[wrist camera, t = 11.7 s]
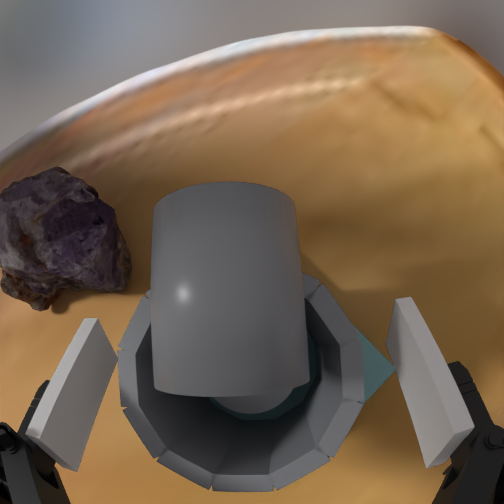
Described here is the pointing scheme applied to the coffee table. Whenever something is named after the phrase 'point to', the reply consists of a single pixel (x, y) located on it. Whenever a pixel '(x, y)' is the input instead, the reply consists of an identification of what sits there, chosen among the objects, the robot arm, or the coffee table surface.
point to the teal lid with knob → (305, 387)
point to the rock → (58, 240)
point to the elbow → (236, 343)
